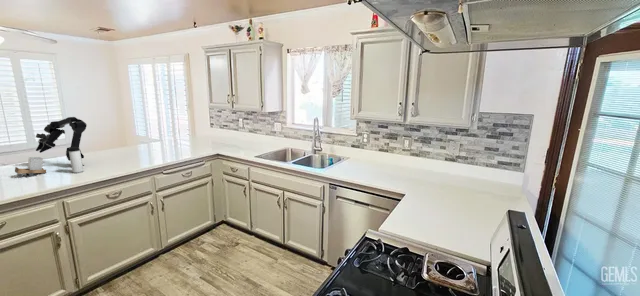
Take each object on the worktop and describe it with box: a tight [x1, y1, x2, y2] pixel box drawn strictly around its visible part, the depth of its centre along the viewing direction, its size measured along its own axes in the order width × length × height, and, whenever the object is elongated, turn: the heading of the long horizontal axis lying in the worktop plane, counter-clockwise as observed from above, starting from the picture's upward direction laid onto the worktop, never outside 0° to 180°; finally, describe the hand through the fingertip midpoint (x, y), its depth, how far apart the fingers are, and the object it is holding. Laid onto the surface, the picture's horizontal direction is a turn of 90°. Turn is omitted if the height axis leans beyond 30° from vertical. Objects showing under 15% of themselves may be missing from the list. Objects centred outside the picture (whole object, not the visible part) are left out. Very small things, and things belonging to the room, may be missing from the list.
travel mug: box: [67, 145, 84, 174], centre depth 208 cm, size 6×7×20 cm
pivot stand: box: [16, 173, 44, 179], centre depth 203 cm, size 14×11×2 cm
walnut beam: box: [14, 167, 47, 174], centre depth 202 cm, size 14×8×4 cm, turn 147°
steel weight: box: [27, 156, 43, 170], centre depth 204 cm, size 6×6×9 cm
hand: (38, 151), depth 216 cm, fingers open, 9 cm apart
